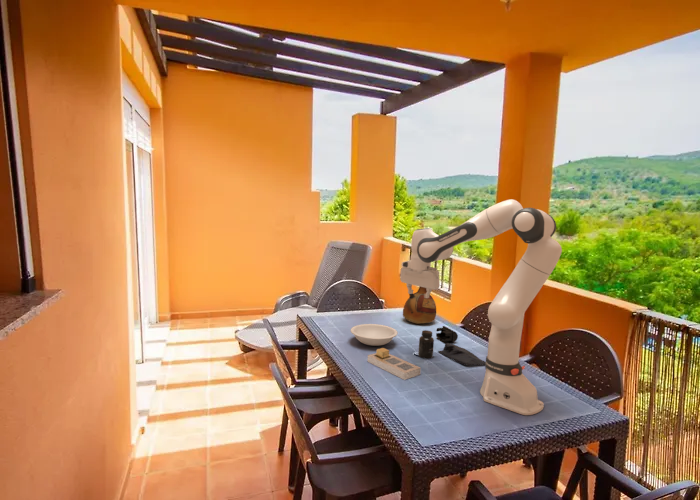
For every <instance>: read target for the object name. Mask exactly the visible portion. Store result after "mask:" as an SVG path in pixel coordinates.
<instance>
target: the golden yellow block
mask: <svg viewBox="0 0 700 500" xmlns="http://www.w3.org/2000/svg"><path fill="white" fill-rule="evenodd" d="M375 353H376V357H378V358H380V359H386V358H389V354H390V350H389V349H387V348H385V347H381V348H377V349H376V352H375Z"/></svg>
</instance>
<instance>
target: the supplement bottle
mask: <svg viewBox="0 0 700 500" xmlns="http://www.w3.org/2000/svg"><path fill="white" fill-rule="evenodd" d="M418 339H419V341H418V356H419V358H422V359H431V358H433V357H434V345H435V344H434V343H435V339H434V338H433V331H431V330H426V329H425V330H424V329H423V330H422V331H421V336H420V337H419V338H418Z"/></svg>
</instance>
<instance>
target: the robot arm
mask: <svg viewBox="0 0 700 500" xmlns="http://www.w3.org/2000/svg"><path fill="white" fill-rule="evenodd" d="M510 230H513V231H514V232H515V233H516V235H517V236H518V237H519V238H520V239H521V240H522V241H523V243H525V244H527V248H526V249H525V252H524V254H523V255H522V256H521V258H520V259H519V261H518V262H517V264H516V266H515V268H514V269H513V270H512V272H511V273H510V275H509V277H508V278H507V280H506V281H505V282H504V283H503V285H502V286H501V288H500V290H499V291H498V293H497V294H496V295H495V297H494V298H493V300H492V301H491V303H490V304H489V306H488V310H487V318H488V321H489V322H490V323H491V328H490V332H489V336H488V345H487V356H485V357H486V358H485V362H486V363H485V365H484V367H485V373H484V378H483V381H482V385H481V387H480V389H479V393H480V395H481V396H482V400H483V401H484V402H485V403H487V404H488V403H489V404H491V405H494V406H496V407H500V408H501V409H502V408H503V409H505V410H508V411H512V412H514V413H517V414H520V415H522V416H532V415H536V414H538V413H540V412H541V411H542V410H543V409H544V407H545V406H544V405H545V404H544V402H543V401H542V400H540V399H538V398H539V397H538V391H537V387H536V386H535V385H533V383H531V381H530V380H529V379H528V378H527V377H526V375H524V374H523V370H525V368H526V366H525V365H523V366H521V364H520V363H521V362H520V361H519V358H520V346H521V338H522V333H523V327H524V319H525V313H526V311H527V310H528V308H529V307H530V305H531V304H532V302H533V301H534V299H535V298H536V296H537V295H538V293H539V292H540V291H541V289H542V287H543V285H545V283H546V282H547V280H548V279H549V277H550V276H551V274H552V273H553V271H554V269H555V268H556V266H557V264H558V262H559V260H560V258H561V255H562V252H563V249H562V246H561V244H560V243H559V242H558V241H557V240H556V239H554V238H552V236H554V234H555V233H556V230H557V223H556V220H555V218H554V217H553V216H552V215H551V214H548V213H547V212H545V211H544V210H541V209H538V208H537V209H536V208H533V207H524V208H523V206H522V204H521V203H520V202H519V201H517V200H516V199H512V198H511V199H506V200H503V201H501V202H498V203H495V204H493V205H491V206H490V207H486V209H483V210H482V211H480V212H479V213H477V214H476V215H474V216H472V217H471V218H469V219H467V220H466V221H464V222H463V223H461V224H459V225H458V226H456V227H455V228H452V229H449V230H447V231H446V232H444V233H442V234H437V233H435V232H434V231H433V230H432V229H431V228H428V227H427V228H425V227H424V228H417V229H415V230H414V231H413V234H412V237H411V245H410V246H411V247H410V249H411V255H410V259H409V260H406V261H402V262H401V269H400V276H399V277H400V282H401V283H404V284H406V288H407V293H408V295H409V294H414V289H412V288H411V286H416V287H424V288H426V291H427V292H426V294H424V298H429V294H430V295H431V292H433V291H434V290H439V288H440V271H439V270H438V269H437V267H432V266H431V264H432V263H433V262H436V261H437V262H438V261H441V260H447V259H448V258H450V257H451V256H452V254H453V253H454V247H455V246H457V245H459V244H463V243H466V242H470V241H471V242H472V241H479V240H487V239H490V238H493V237H496V236H498V235H501V234H503V233H504V232H507V231H510ZM432 290H433V291H432Z"/></svg>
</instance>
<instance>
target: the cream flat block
mask: <svg viewBox="0 0 700 500" xmlns="http://www.w3.org/2000/svg"><path fill="white" fill-rule="evenodd" d="M367 362H368V363H369V364H372V365H373V366H375V367H377V368H379V369H381V370H383V371H385V372H387V373H389V374H392V375H393V376H396V377H398V378H400V379H402V380H404V381H405V380H409V379H411V378H415V377H418V376H420V375H421V371H422V370H421V369H422V368H421V367H420V366H418V365H415V364H413V363H410V362H409V361H406V360H404V359H402V358H400V357H398V356H395V355H393V354H390V353H389V358H386V359H380V358H378V357H376V352H375V353H371V354H367Z"/></svg>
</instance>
